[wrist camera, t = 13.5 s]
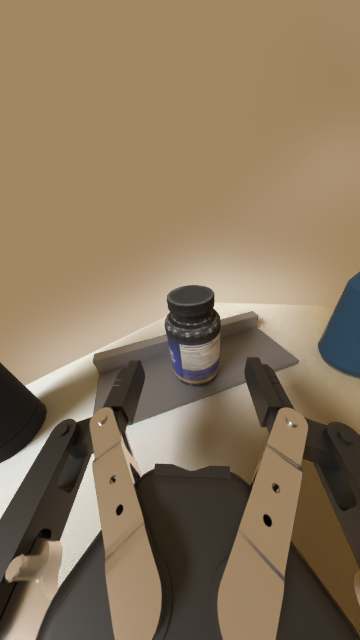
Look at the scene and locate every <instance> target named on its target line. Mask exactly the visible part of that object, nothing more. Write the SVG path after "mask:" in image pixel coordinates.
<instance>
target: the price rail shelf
mask: <svg viewBox="0 0 360 640" xmlns="http://www.w3.org/2000/svg"><path fill="white" fill-rule="evenodd" d="M257 320H258V315H257V314H256V313H254V312H253V311H251V312H248V313H244V314H240V315H237V316H233V317H229V318H226V319H222V320H221V329H220V354H219V355H220V356H219V371H218V374H217V376H216V377H215V379H214V380H213V381H212V382H210V383H208V384H206V385H203V386H188V385H186V384H184V383H182V382H181V381H180V380H179V379H178V378H177V377H176V376H175V374H174V370H173V365H172V360H171V355H170V350H169V345H168V339H167V335H163V336H159V337H156V338H152V339H148V340H145V341H141V342H137V343H134V344H130V345H126V346H123V347H119V348H115V349H112V350H108V351H104V352H100V353H97V354H94V358H93V363H94V365H95V366H96V368H97V370H98V371H99V380H98V387H97V393H96V400H95V406H94V413H93V415H94V414H95V413H96V412H97V411H98V410H100V409H102V408H103V406H104V404H105V401H106V399H107V397H108V395H109V393H110V390H111V388H112V386H113V384H114V382H115V380H116V377H117V375H118V373H119V372H120V371H121V370H122V369H123V368H125V367H127V366H128V363H129V361H130V360H140V361H141V363H142V366H143V369H144V372H145V381H144V385H143V389H142V392H141V396H140V399H139V403H138V407H137V410H136V414H135V417H134V421H133V423H136V422H139V421H142V420H144V419H147V418H150V417H153V416H155V415H158V414H161V413H163V412H166V411H169V410H172V409H174V408H177V407H180V406H183V405H185V404H188V403H191V402H194V401H196V400H199V399H202V398H205V397H207V396H210V395H213V394H216V393H218V392H221V391H224V390H226V389H229V388H232V387H235V386H237V385H240V384H243V383H246V379H245V374H244V371H245V365H246V359H247V357H259V358H260V360H261V362H262V364H268V365H269V366H270V367H271V368H272V369H273V370H274V372H276V371H278V370H281V369H284V368H287V367H289V366H292V365H295V364H297V363H298V361H299V360H297V359H296V358H295V357H294V356H292V355H291V354H290V353H288V352H287V351H286V350H285V349H283V348H282V347H281V346H280V345H278V344H277V343H276V342H275V341H273V340H272V339H271V338H269V337H268V336H267V335H266V334H264V333H263V332H262V331H261V330H259V329H258V328H257V327H256V325H257ZM127 426H128V425H127Z"/></svg>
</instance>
